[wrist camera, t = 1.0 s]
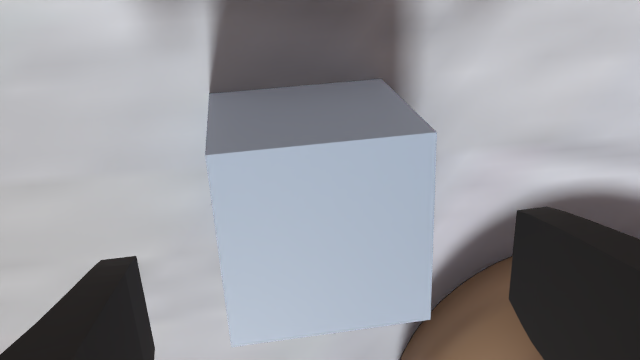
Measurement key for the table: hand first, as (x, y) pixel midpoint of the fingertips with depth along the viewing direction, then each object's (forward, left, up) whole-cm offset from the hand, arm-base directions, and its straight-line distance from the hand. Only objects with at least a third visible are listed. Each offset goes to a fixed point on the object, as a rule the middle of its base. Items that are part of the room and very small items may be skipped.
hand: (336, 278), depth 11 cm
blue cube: (0, 0, -6) cm, 6 cm away
